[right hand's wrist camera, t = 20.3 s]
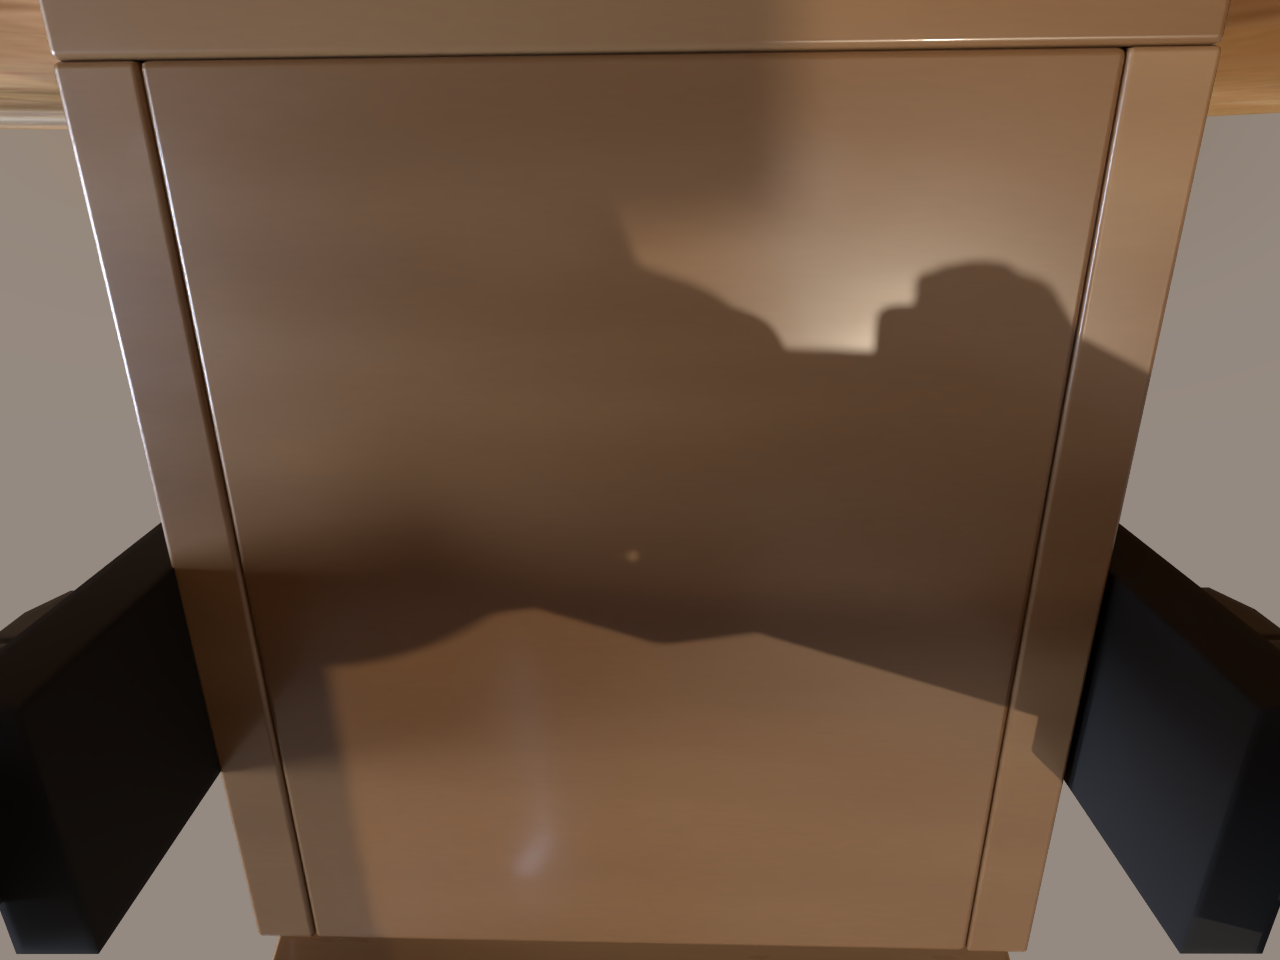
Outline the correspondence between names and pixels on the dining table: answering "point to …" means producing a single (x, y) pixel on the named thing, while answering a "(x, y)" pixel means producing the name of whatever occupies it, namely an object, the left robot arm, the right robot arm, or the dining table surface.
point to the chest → (640, 437)
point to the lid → (586, 951)
